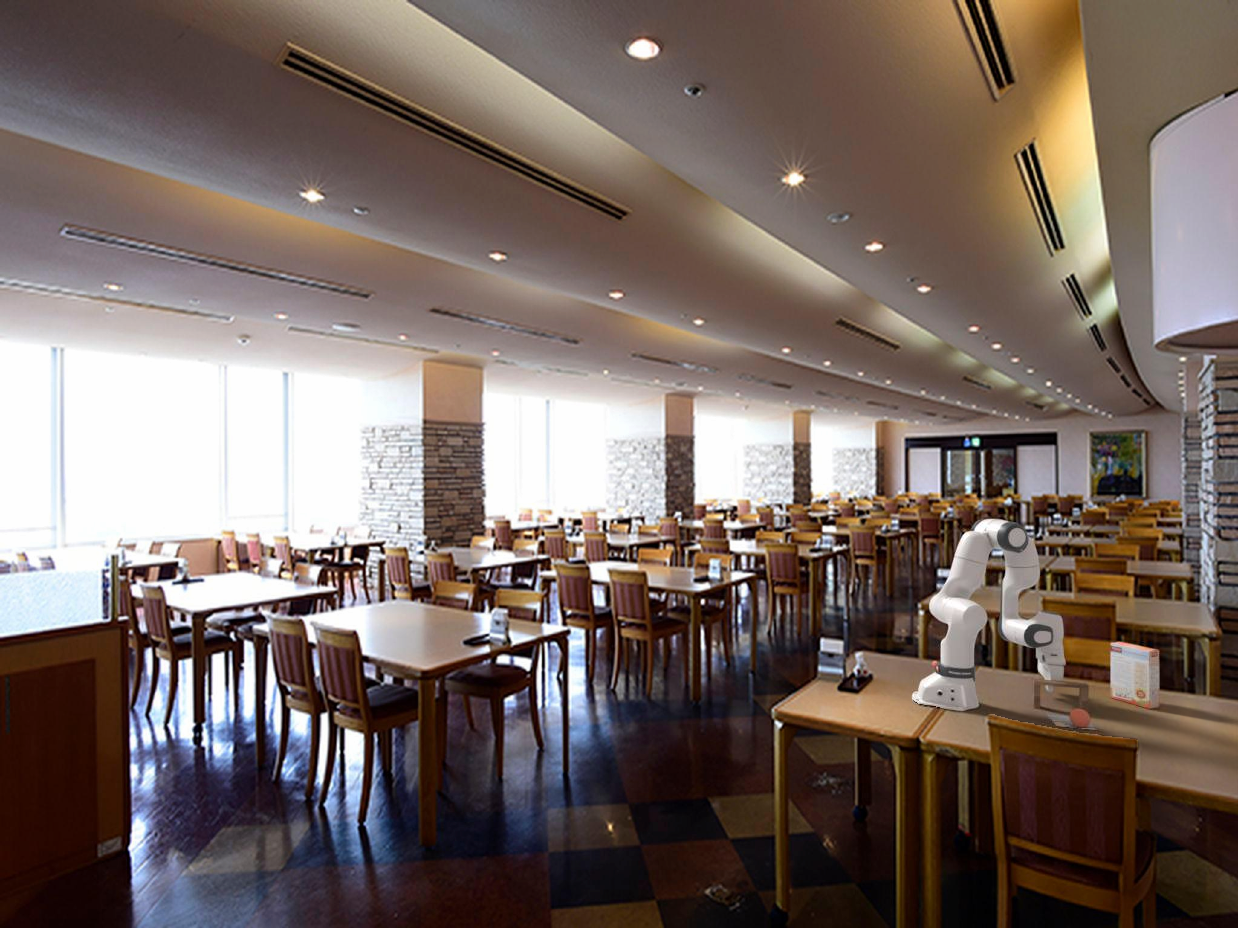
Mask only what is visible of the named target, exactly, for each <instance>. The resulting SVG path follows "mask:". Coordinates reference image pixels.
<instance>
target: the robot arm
mask: <svg viewBox="0 0 1238 928" xmlns="http://www.w3.org/2000/svg"><path fill="white" fill-rule="evenodd" d="M994 549H995V550H999V551H1002V552H1003V554H1004V555H1003V556H1004V564H1005V573H1004V577H1003V579H1002V580H1001V584H1000V606H999V610H1000V611H999V618H998V622H997V633H998V635H999V637H1000V638H1001V639H1003V640H1004V641H1005V642H1009V643H1015V644H1018V645H1020V646H1025V647H1028V648H1031V649H1035V658H1036V659H1037V671H1038V673H1039V674H1040V675H1041V676H1042V677H1043V679H1044V680H1055V681H1064V674H1065V673H1064V672H1065V671H1064V670H1065V668H1064V666H1066V663H1067V662H1066V659H1065V655H1064V645H1063V639H1064V635H1065V634H1064V632H1065V631H1064V622H1063V618H1062V616H1061V615H1060V614H1059V613H1057V612H1052V611H1048V610H1044V609H1043V610H1039V611H1038V612H1037V613H1036V615H1035V616H1033V617H1032V618H1029V619H1025V618H1022V617H1021V616H1020V614H1019V595H1020V592H1021V591H1024V590H1026V589H1029V588H1032V587H1034V586H1035V585H1036V584H1037V583H1038V582H1039V581H1040V577H1041V576H1040V575H1041V569H1040V561H1039V555H1038V551H1037V548H1036V545H1035V542H1034V539H1033V538H1032V537H1030V536H1028V533H1027V531H1026V528H1024V527H1023V525H1021V524H1019V523H1018V522H1014V521H1008V520H1004V519H1000V518H988V517H987V518H986V517H985V518H982V519H979V520H977V521H975V523H974V524H972V526H971V528H970V530H969V531H966V532H965V533H964V534H962V536H961V538H960V540H959V541H958V544H957V547H956V550H955V552H954V556H953V560H952V564H951V567H950V571H949V574H948V576H947V579H946V581H945V583H944V585H942V587H941V589H940V591H938V593H937V594H935V595H933V597H931V599H930V601H929V606H928V608H929V612H930V614H931V615H932V616H934V617H935V619H937V620H938V621H940V622H942V623H944V624H947V625H948V629H947V632H946V636H945V637H944V638H943V639H942V640H941V642H940V661H939V662H938V661H936V660H934V661H932V666H933V668H934V672H933V673H931V674H929V675H928V676H926V677H925V678H922V679H921V680H920V682H919V685H918V689H917V690H918V691H914V692H913V693H912V695H911V699H912V701H913V700H914V701H915V702H917V703H918V704H917V703H916V704H917V705H919V704H924V705H934V706H936V707H935V708H937V707H940V708H939V709H945V710H950V711H951V710H952V711H958V712H965V711H967V710H972V709H976V708H979V707H980V704H979V701H978V700H979V699H978V697H977V692H976V691H977V690H976V686H975V685H976V684H975V683H976V679H977V678H976V677H977V676H976V671H977V670H976V666H975V645H976V640H977V637H978V634H979V632H980V631H981V630H982V629H984V627H985V626H986V625H987V622H988V614H987V612H986V610H985V608H984V607H983V606H981V605H980V604H978V603H977V602H975V601H973V600H970V598H971V596H972V594H973V593H974V592H975V591H976V590H977V589H979V588H980V587H981V586H982V584H983V582H984V581H983V580H984V577H985V573H986V569H987V565H988V561H989V558H990V557H989V555H991V554H990V553H991V552H992V551H993V550H994ZM1054 688H1055V686H1048V685H1045V690H1046V691H1047V692H1048V693H1053V692H1054ZM914 701H913V702H914ZM915 702H914V703H915ZM924 705H923V706H924Z"/></svg>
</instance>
